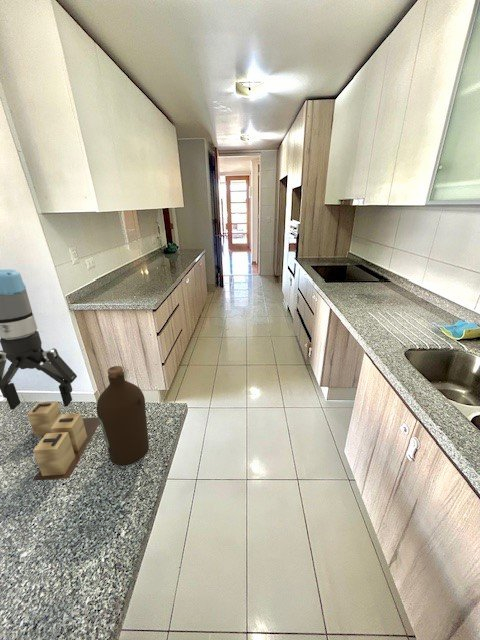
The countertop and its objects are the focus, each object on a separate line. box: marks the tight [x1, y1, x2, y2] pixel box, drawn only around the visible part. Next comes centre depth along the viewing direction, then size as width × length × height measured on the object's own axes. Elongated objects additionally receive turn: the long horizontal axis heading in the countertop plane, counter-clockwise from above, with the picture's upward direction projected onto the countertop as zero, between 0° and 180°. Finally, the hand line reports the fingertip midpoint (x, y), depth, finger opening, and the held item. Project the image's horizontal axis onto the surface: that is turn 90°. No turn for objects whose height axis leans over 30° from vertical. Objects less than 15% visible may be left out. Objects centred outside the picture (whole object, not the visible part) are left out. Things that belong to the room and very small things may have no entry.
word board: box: [32, 416, 100, 482], centre depth 69 cm, size 8×20×1 cm, turn 6°
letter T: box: [32, 432, 75, 476], centre depth 61 cm, size 5×5×8 cm
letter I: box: [50, 413, 87, 452], centre depth 67 cm, size 5×5×8 cm
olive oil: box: [96, 365, 150, 467], centre depth 63 cm, size 11×11×25 cm
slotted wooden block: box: [26, 400, 62, 437], centre depth 73 cm, size 5×5×8 cm
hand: (42, 404), depth 71 cm, fingers open, 13 cm apart
